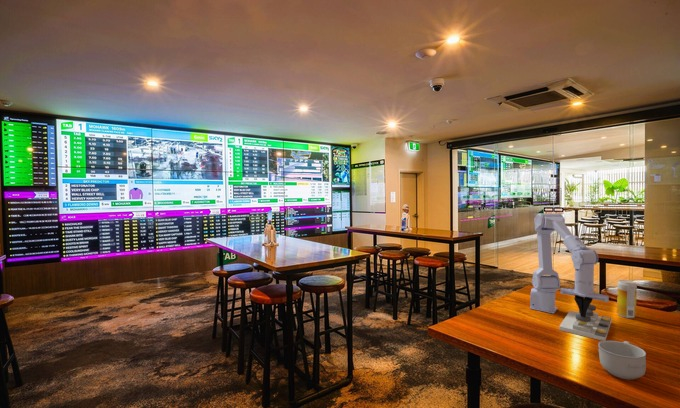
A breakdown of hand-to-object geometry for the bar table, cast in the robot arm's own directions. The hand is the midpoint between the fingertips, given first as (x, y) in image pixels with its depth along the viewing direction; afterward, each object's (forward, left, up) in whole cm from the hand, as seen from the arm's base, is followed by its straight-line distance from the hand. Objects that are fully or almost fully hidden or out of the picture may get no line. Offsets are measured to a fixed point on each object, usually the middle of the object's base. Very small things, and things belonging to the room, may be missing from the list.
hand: (583, 315), depth 124 cm
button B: (0, +7, -3) cm, 8 cm away
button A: (0, 0, -3) cm, 3 cm away
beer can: (+11, +32, -7) cm, 34 cm away
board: (0, +8, -6) cm, 10 cm away
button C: (0, +15, -3) cm, 15 cm away
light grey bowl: (+13, -24, -7) cm, 29 cm away
